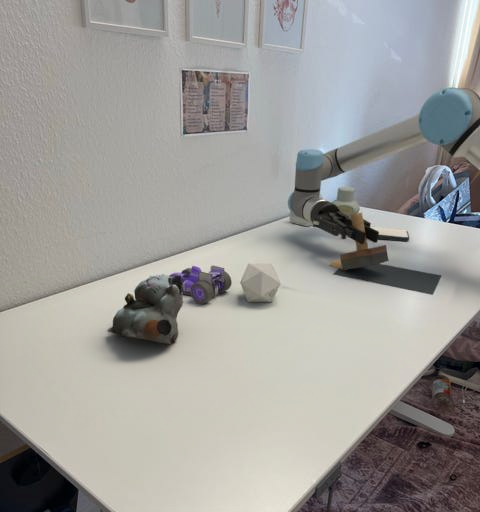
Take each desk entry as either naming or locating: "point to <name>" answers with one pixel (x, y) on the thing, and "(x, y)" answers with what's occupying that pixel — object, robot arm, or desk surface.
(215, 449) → the desk surface
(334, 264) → the pad
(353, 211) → the air freshener
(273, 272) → the die
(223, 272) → the toy race car
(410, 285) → the mat
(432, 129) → the robot arm
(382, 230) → the phone case
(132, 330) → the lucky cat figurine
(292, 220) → the small box
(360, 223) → the wooden peg stand
